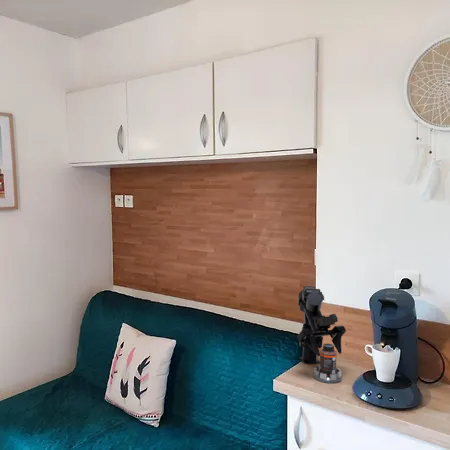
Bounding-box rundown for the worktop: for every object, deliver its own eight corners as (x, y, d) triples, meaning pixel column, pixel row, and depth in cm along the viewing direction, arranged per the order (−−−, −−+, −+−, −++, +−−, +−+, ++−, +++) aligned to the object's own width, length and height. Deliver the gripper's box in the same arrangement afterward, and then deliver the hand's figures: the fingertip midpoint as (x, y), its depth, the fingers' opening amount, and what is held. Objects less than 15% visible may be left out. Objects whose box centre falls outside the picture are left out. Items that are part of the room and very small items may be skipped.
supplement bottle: (338, 377, 166) (339, 347, 166) (322, 378, 166) (324, 347, 165) (331, 371, 172) (333, 342, 172) (317, 371, 171) (318, 342, 171)
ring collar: (309, 372, 173) (309, 365, 173) (334, 371, 175) (334, 363, 175) (320, 384, 163) (320, 376, 162) (347, 382, 165) (347, 374, 165)
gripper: (302, 308, 168) (317, 347, 158) (344, 305, 175) (361, 342, 165) (291, 323, 176) (304, 361, 166) (331, 319, 182) (347, 355, 173)
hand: (330, 354), depth 167 cm, fingers open, 9 cm apart
